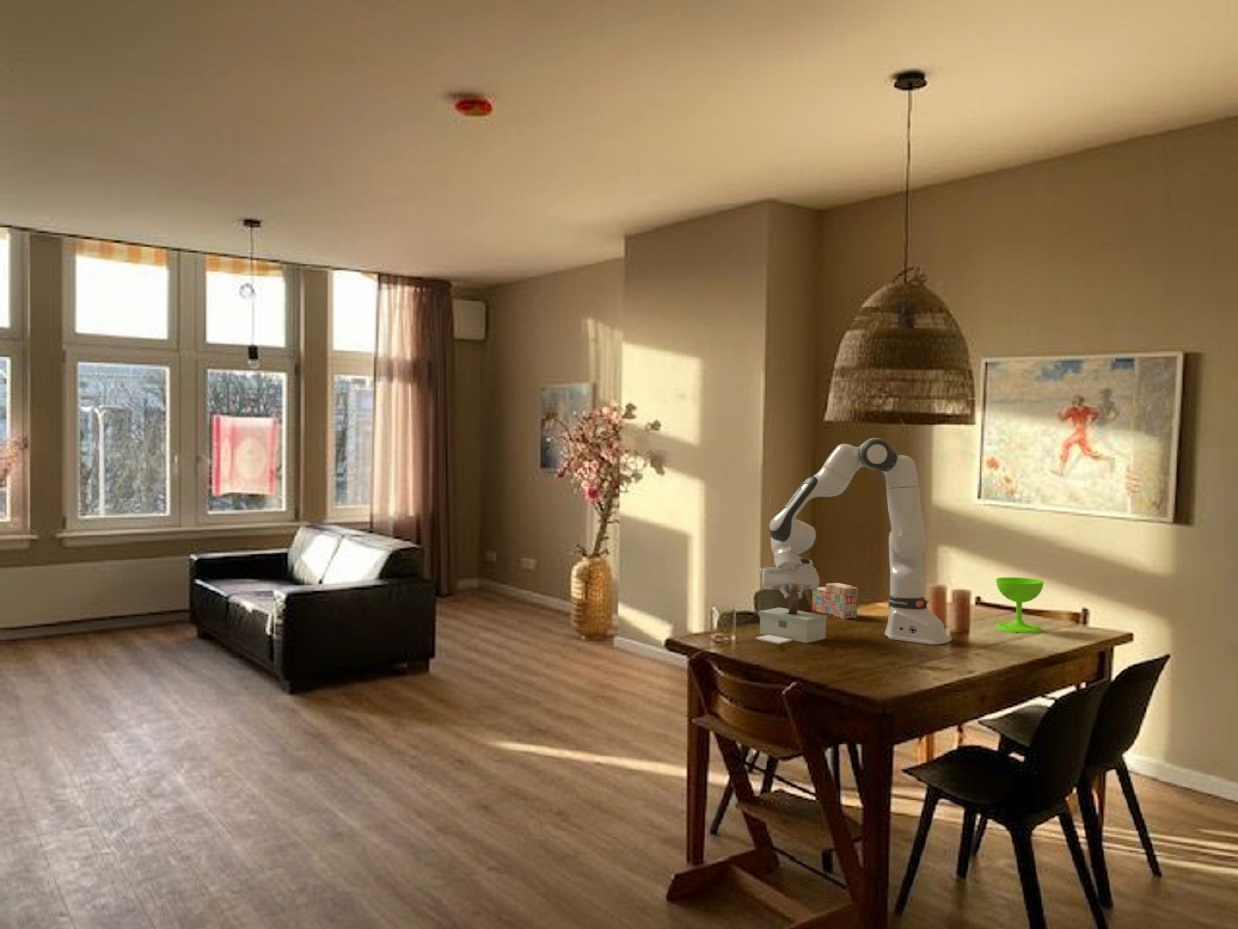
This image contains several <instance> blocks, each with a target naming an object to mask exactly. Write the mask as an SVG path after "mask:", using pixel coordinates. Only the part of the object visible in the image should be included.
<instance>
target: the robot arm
mask: <svg viewBox="0 0 1238 929" xmlns="http://www.w3.org/2000/svg"><path fill="white" fill-rule="evenodd" d="M862 467H863V468H867V469H870V470H875V471H881V472H882V473H883V474H884V477H885V484H886V485H885V486H886V488H885V489H886V498H887V500H886V502H887V511H888V517H889V522H890V528H891V531H890V532H889V536H888V557H889V575H890V576H889V577H890V578H889V584H890V585H889V586H890V587H889V594H888V616H887V617H888V619H887V623H886V624H887V625H886V628H885V631H884V635H885V636H887V637H888V639H890V640H893V641H894V640H896V641H904V642H909V643H911V642H912V643H916V644H917V643H918V644H923V645H924V644H925V645H932V646H933V645H942V644H946V643H949V642H951V641H952V636H950V635H946V631H945V625H944V623H943V621H942V620H941V619H940V618H939V617H938V616H936V614H935V613H933V612H932V611H931V610H930V609H929V608H928V604H930V599H928V600H926V599H925V597H924V584H923V583H924V573H923V564H922V562H923V560H922V555H923V554H924V553H925V552H926V548H927V536H926V531H925V530H926V529H925V524H924V518H923V513H922V506H921V496H920V486H919V485H920V484H919V478H918V477H919V476H918V475H919V474H918V471H917V467H916V463H915V461H914V459H913V458H912V457H910V456H908V455H905V454H903V455H902V454H900V455H899V454H897V453H896V452H895V450H894V449H893V448H892V446H891V445H890V444H889V443H888V442H887V441H886V440H884V439H883V438H879V437H878V438H877V437H872V438H869V439H867V440H866V441H864V442H863V443H862V444H859V445H858V446H854V445H852V444H850V443H849V444H848V443H841V444H838V445H837V446H836V447H835V448H834V449H833V451H831V453H830V454H829V456H828V458H827V459H826V460H825V462H824V463H823V466H822V467H821V469H819V470H818V472H816V473H815V474H814V475H812V476H810V477H809V476H808V477H807V478H805V479H804V481H803V482H802V483H801V484H800V485H799V486H798V487H797V488H796V490H795V491H794V492H793V494H792V495H791V497H790V498H789V499H788V501H786V502H785V504H784V505H783V507H781V509H780V510H779V511H778V512H777V513H776V514H775V515H774V516H773V517H772V518H771V519H770V521H769V524H768V532H769V534H770V546H771V552H772V554H773V562H774V564H773V565H763V566H762V567H760V568H759V575H760V576H761V586H762V588H763V589H764V590H779V591H780V592H781V594H783V596H784V599H789V597H790V594H789V591H787V590H789V584H797V585H798V599H802V598H803V591H804V590H810V589H811V590H812V589H817V588H818V587H820V583H821V581H820V577H819V573H818V571H817V569H816V568H815V567H814V566H813V565H814V564H813V563H814V562H813V560H811V559H809V558H805V557H801V556H799V555H801V554H804V553H805V552H808V551H809V550H810V549H812V548H813V547H814V546H815V544H816V542H817V531H816V529H815V527H813V526H812V525H810V524H808V523H806V522H804V521H801V520H800V519H797V518H796V517H797V516H798V514H799V513H800V512H801V511H802V510H803V508H804V506H805V505H806V504H807V502H809V501H810V500H811V499H815V498H818V497H819V498H820V497H822V498H828V497H831V498H832V497H837V496H839V495H841V494H843V493H844V491H845V490H846V489H847V488H848V486H849V484H850V482H851V481H852V479H853V477H854V476H855V475H856V473H857V472H858V470H859V469H862Z"/></svg>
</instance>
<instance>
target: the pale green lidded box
mask: <svg viewBox="0 0 1238 929" xmlns="http://www.w3.org/2000/svg"><path fill="white" fill-rule="evenodd" d="M758 617H759V634H760V635H763V636H765V635H772V636H777V637H782V638H787V639H792V641H794V642H799V643H805V644H808V643H813V642H817V641H821V640H824V639H826V627H827V626H826V625H827V624H826V623H827V621H828V615H827V614H819V613H813V612H807V611H803V610H797V614H796V615H791V614H789V608H785V607H774V608H769V609H763V610H759V611H758Z"/></svg>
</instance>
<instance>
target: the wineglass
mask: <svg viewBox="0 0 1238 929" xmlns="http://www.w3.org/2000/svg"><path fill="white" fill-rule="evenodd" d="M995 580H996V586H997V589H998V591H999V592H1000V593H1001V595H1002V596H1004V597H1005V598H1006V599H1007V600H1009V601H1011V602H1015V603H1016V607H1015V608H1016V610H1015V612H1016V613H1015V614H1016V615H1015V620H1014V621H1012V622H1008V621H1007V622H1000V623H997V624H996V625H995V627H996V628H997V630H998V629H999V631H1001V630H1002V631H1001V632H1006V633H1007V632H1008V633H1012V632H1018V633H1017V634H1022V633H1035V634H1040V633H1039V632H1041V633H1043V629H1042V628H1041V627H1040V626H1038V625H1036V624H1031V623H1025V622H1024V621H1023V619H1022V618H1023V616H1022V614H1023V603H1027V602H1031V601H1032V600H1034V599H1037V597H1039V595H1040V593H1041V592H1042V589H1043V587H1044V581H1043V580H1041V579H1035V578H1028V577H1017V576H1014V577H1013V576H1012V577H1011V576H1009V577H1008V576H1007V577H1006V576H1003V577H997V578H996V579H995ZM996 628H995V629H996Z"/></svg>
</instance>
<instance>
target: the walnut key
mask: <svg viewBox="0 0 1238 929" xmlns="http://www.w3.org/2000/svg"><path fill="white" fill-rule="evenodd" d="M788 592H789V594H790V597H789V598H788V609H789V614H791V615H796V614H797V611H798V602H799V601H798V599H799V598H798V592H799V589H798V585H797V584H789V589H788Z"/></svg>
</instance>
